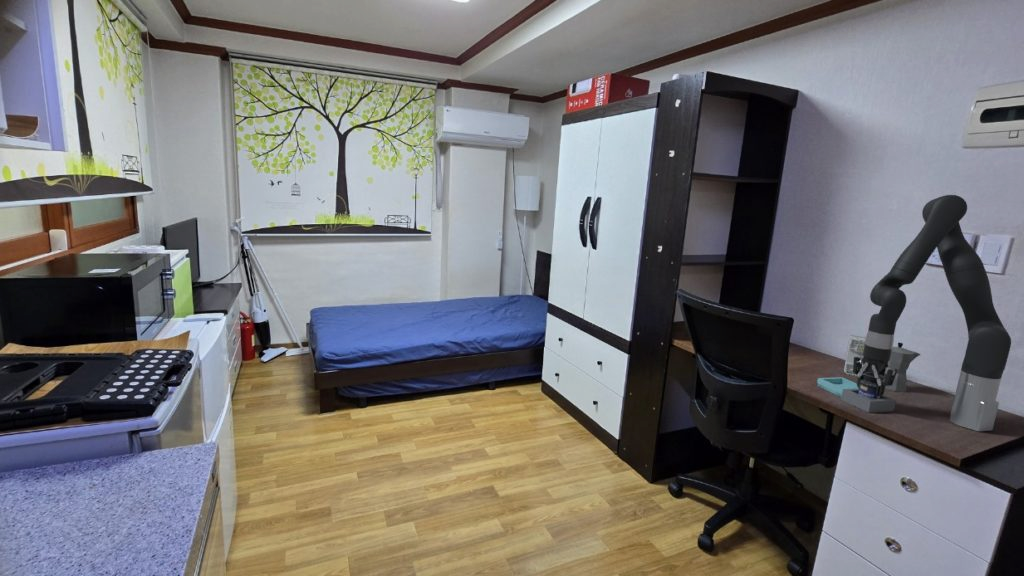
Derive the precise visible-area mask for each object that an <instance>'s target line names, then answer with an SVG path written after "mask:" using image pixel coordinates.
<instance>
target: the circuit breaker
mask: <svg viewBox="0 0 1024 576" xmlns="http://www.w3.org/2000/svg"><path fill="white" fill-rule="evenodd" d="M865 339H866V336H859V335H854V334H850V335H849V340H848V343H847V349H846V352H845V363H844V368H843V372H845V373H846V375H849V374H850V375H849V376H854V375H855V377H858V376H857V375H856V374H854V373H853V363H854V357H862V358H863V357H864V356H863V350H864V344H865ZM863 366H864V365H863V363H862V367H863ZM857 370H858V368H857Z"/></svg>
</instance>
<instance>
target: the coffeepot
mask: <svg viewBox="0 0 1024 576" xmlns="http://www.w3.org/2000/svg"><path fill="white" fill-rule="evenodd" d="M903 345H904V343H903V342H897V346H893V347H892V352H891V357H890V360H889V362H888V366H889V368H891V369H896V370H897V373H896V376H895V379H894V382H893V385H892V386H885V390H888V391H890V392H898V393H904V392H906V391H907V371H908V369H909V368H910V364H911V363H912V362H913V361H914V360H915V359H916V358H918V357H919V356H921V353H919V352H916V351H914V350H910V349H907V348H903ZM885 373H886V371H885ZM886 374H887V373H886ZM881 381H882V380H881Z"/></svg>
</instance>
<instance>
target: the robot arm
mask: <svg viewBox="0 0 1024 576" xmlns="http://www.w3.org/2000/svg"><path fill="white" fill-rule="evenodd" d="M967 211H968V204H967V202H966V199H964V197H961V196H959V195H956V194H946V195H942V196H938V197H936V198H934V199H931V200H929V201H928V202H926V203H925V205H924V206H923V208H922V212H921V213H922V214H921V215H922V219H923V221H924V223H925V224H924V225H923V227H922V228H921V230H920V231H919V233H918V234H917V235H916V236H915V238H914V239H913V240H912V241H911V242H910V243H909V244H908V245H907V247H906V248H905V249H904V250H903V251H902V252H901V253H900V255H899V257H898V258H897V259H896V260H895V262H894V264H893V266H892V267H891V269H890V270H889V272H888V273H887V274H886V275H884V276H883V277H882V278H881V279H880V280H879V281H877V283H876V284H875V285H874V286H873V287H872V290H871V292H870V294H869V295H870V296H869V297H870V301H871V302H872V304H874V306H878V307H881V308H880V310H879V312H878V313H874V314H872V315H871V316H870V318H869V323H868V329H867V333H866V334H865V337H866V339H865V344H864V350H863V356H864V357H863V358H862V357H854V363H853V373H854V374H856V375H857V376H856V377H857V382H856V383H857V387H858V388H859V385H860V381H861V380H863V379H864V374H865V373H872V374H874V376H875V378H876V379H877V383H878V385H877V388H876V393H875V395H877V396H882V395H885V394H884V393H885V390H886V389H885V386H892V385H893V382H894V379H895V376H896V373H897V370H896V369H891V368H889V366H888V362H889V360H890V357H891V352H892V347H894V342H895V339H894V338H895V333H896V327H897V322H898V320H899V319H900V317H901V314H903V311H904V310H905V307H906V305H907V295H906V294H905V292H904V291H903V290H902V289H901V287H903V286H905V285H911V284H913V283H914V281H915V280H916V279H917V278H918V275H920V273H921V271H922V270H923V268H924V266H925V265H926V263H927V262H928V261H929V259H930V257H931V255H933V253H934V251H935V250H936V249H937V253H938V256H939V259H940V262H941V265H942V268H943V270H944V272H943V273H944V274H945V277H946V280H947V283H948V286H949V287H950V290H951V292H952V294H953V296H954V298H955V299H956V301H957V302H958V304H959V306H960V308H961V311H962V312H963V315H964V318H965V323H966V329H967V337H968V338H967V339H968V341H967V346H966V349H965V353H964V358H963V361H962V364H961V367H960V368H961V369H960V371H959V372H960V373H959V378H958V382H957V385H956V386H957V387H956V389H955V394H954V398H953V404H952V407H951V412H950V417H949V421H950V422H951V423H952V424H955V425H957V426H959V427H962V428H965V429H968V430H973V431H975V432H987V431H988V432H989V431H993V429H994V425H995V420H996V417H997V413H998V409H999V405H1000V402H999V401H997V397H998V393H999V389H1000V385H1001V381H1002V377H1003V374H1004V372H1005V369H1006V366H1007V362H1008V358H1009V354H1010V351H1011V347H1012V338H1011V336H1010V334H1009V332H1008V331H1007V329H1006V328H1005V326H1004V325H1003V322H1002V321H1001V319H1000V317H999V315H998V312H997V311H996V308H995V306H994V302H993V295H992V289H991V284H990V280H989V277H988V274H987V271H986V268H985V266H984V262H983V261H982V258H981V257H980V256H979V254H978V253H977V252H976V251H975V249H974V248H973V247H972V245H971V244H970V243H969V242H968V241H967V239H966V237H965V236H964V233H963V230H962V228H961V225H960V221H961V220H963V218H964V216H965V215H967V214H966V213H967ZM862 363H863V365H864V366H863V367H862ZM857 368H858V370H857ZM885 371H886V373H887V374H886V373H885ZM881 380H882V381H881Z"/></svg>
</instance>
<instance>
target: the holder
mask: <svg viewBox="0 0 1024 576" xmlns="http://www.w3.org/2000/svg"><path fill="white" fill-rule="evenodd" d="M858 390H859V388H856V389H843V392H842V397H840V400H841V401H843V402H845V403H847V404H848V405H851V406H853V405H854V406H853V407H855V406H856V407H855V408H858V409H859V408H860V410H861V411H864V412H865V413H866V412H867V413H872V414H873V413H884V412H885V413H886V412H887V413H888V412H894V410H895V405H896V403H897V402H896V399H894V398H891V397H890V396H887V395H885V394H883V395H882V396H880V398H879V399H868V398H866V397H863V396H861V395H859V394H858Z"/></svg>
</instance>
